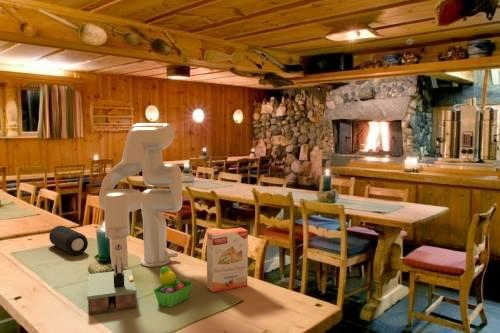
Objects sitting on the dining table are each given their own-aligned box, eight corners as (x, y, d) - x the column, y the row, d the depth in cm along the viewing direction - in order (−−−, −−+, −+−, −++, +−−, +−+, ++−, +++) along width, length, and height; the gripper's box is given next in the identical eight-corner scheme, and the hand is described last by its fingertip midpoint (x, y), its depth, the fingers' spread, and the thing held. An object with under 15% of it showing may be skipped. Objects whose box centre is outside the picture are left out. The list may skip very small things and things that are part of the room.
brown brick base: (131, 285, 153) (131, 272, 153) (136, 308, 135) (136, 293, 134) (89, 291, 148) (89, 277, 148) (88, 315, 130) (87, 299, 129)
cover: (131, 272, 153) (131, 267, 153) (136, 293, 134) (136, 288, 134) (88, 276, 148) (88, 272, 148) (87, 299, 129) (87, 294, 129)
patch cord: (112, 286, 150) (112, 283, 150) (114, 309, 131) (114, 305, 131) (108, 287, 149) (108, 283, 149) (110, 310, 131) (109, 305, 131)
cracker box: (212, 293, 146) (212, 234, 144) (206, 287, 152) (205, 230, 150) (248, 286, 153) (248, 230, 151) (241, 281, 158) (241, 226, 156)
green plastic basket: (170, 310, 133) (169, 275, 132) (149, 303, 138) (149, 270, 137) (193, 297, 143) (192, 265, 142) (173, 292, 148) (172, 261, 147)
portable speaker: (90, 253, 193) (89, 232, 192) (68, 258, 186) (67, 236, 185) (68, 242, 211) (67, 223, 210) (47, 246, 204) (46, 226, 203)
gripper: (131, 235, 130) (132, 293, 131) (128, 225, 144) (129, 277, 145) (105, 238, 127) (107, 296, 129) (104, 226, 141) (106, 280, 143)
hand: (119, 286), depth 137 cm, fingers closed
